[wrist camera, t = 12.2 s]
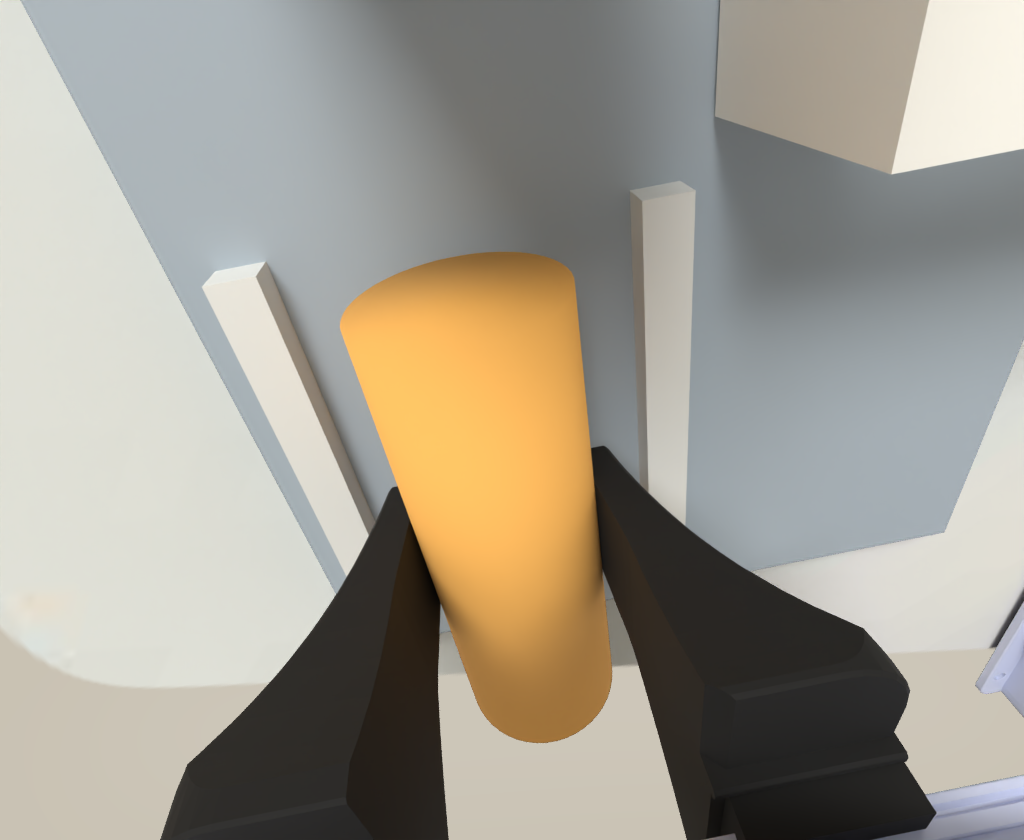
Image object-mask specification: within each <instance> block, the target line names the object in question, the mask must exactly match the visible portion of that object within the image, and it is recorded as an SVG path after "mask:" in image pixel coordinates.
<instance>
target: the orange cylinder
mask: <svg viewBox="0 0 1024 840" xmlns="http://www.w3.org/2000/svg"><path fill="white" fill-rule="evenodd" d="M340 330H341V333H342V336H343V339H344V342H345V344H346V347H347V350H348V353H349V355H350V358H351V361H352V363H353V366H354V369H355V372H356V374H357V377H358V380H359V382H360V385H361V388H362V391H363V393H364V396H365V399H366V401H367V404H368V407H369V410H370V412H371V415H372V418H373V420H374V423H375V426H376V429H377V431H378V434H379V437H380V439H381V442H382V445H383V448H384V450H385V453H386V456H387V459H388V461H389V464H390V467H391V469H392V472H393V475H394V478H395V480H396V483H397V486H398V488H399V491H400V494H401V497H402V499H403V502H404V505H405V507H406V510H407V513H408V516H409V518H410V521H411V524H412V526H413V529H414V532H415V535H416V537H417V540H418V543H419V546H420V548H421V551H422V554H423V556H424V559H425V562H426V565H427V567H428V570H429V573H430V575H431V578H432V581H433V584H434V586H435V589H436V592H437V594H438V597H439V600H440V603H441V605H442V608H443V611H444V613H445V616H446V619H447V622H448V624H449V627H450V630H451V632H452V635H453V638H454V641H455V643H456V646H457V649H458V652H459V654H460V657H461V660H462V662H463V665H464V668H465V671H466V673H467V676H468V679H469V681H470V684H471V687H472V690H473V692H474V695H475V698H476V700H477V703H478V705H479V707H480V709H481V711H482V713H483V714H484V716H485V717H486V718H487V720H489V722H490V723H491V724H492V725H493V726H495V727H496V728H497V729H498V730H499V731H501V732H503V733H504V734H506V735H508V736H510V737H512V738H515V739H517V740H521V741H525V742H532V743H548V742H553V741H558V740H561V739H565V738H567V737H569V736H571V735H574V734H576V733H577V732H579V731H580V730H582V729H583V728H585V727H586V726H587V725H588V724H589V723H591V722H592V721H593V719H594V718H595V717H596V716H597V715H598V714H599V712H600V711H601V709H602V708H603V706H604V704H605V702H606V700H607V698H608V694H609V692H610V688H611V682H612V664H611V654H610V643H609V633H608V622H607V612H606V601H605V591H604V581H603V570H602V560H601V549H600V539H599V529H598V518H597V508H596V497H595V487H594V477H593V466H592V456H591V445H590V435H589V424H588V414H587V404H586V393H585V383H584V372H583V362H582V352H581V341H580V331H579V320H578V310H577V300H576V289H575V280H574V276H573V274H572V272H571V271H570V270H569V269H568V268H567V267H566V266H565V265H563V264H562V263H560V262H558V261H556V260H554V259H551V258H548V257H545V256H541V255H537V254H531V253H523V252H484V253H474V254H467V255H460V256H455V257H449V258H445V259H441V260H436V261H433V262H429V263H426V264H422V265H419V266H416V267H413V268H410V269H408V270H405V271H402V272H400V273H398V274H395V275H393V276H391V277H389V278H387V279H385V280H383V281H381V282H379V283H377V284H375V285H374V286H372V287H370V288H369V289H367V290H366V291H365V292H363V293H362V294H360V295H359V296H358V297H357V298H356V299H355V300H353V301H352V302H351V304H350V305H349V306H348V307H347V308H346V310H345V311H344V313H343V315H342V318H341V320H340Z"/></svg>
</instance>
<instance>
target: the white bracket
mask: <svg viewBox="0 0 1024 840" xmlns="http://www.w3.org/2000/svg"><path fill="white" fill-rule="evenodd" d="M715 117H718V118H721V119H724V120H728V121H731V122H734V123H737V124H740V125H743V126H746V127H749V128H752V129H755V130H758V131H761V132H764V133H767V134H770V135H773V136H776V137H779V138H782V139H785V140H788V141H791V142H794V143H797V144H800V145H803V146H806V147H809V148H812V149H815V150H818V151H821V152H824V153H828V154H831V155H834V156H837V157H840V158H843V159H846V160H849V161H852V162H855V163H858V164H861V165H864V166H867V167H870V168H873V169H876V170H879V171H882V172H885V173H888V174H896V173H901V172H907V171H912V170H917V169H922V168H927V167H932V166H937V165H942V164H948V163H953V162H958V161H963V160H968V159H973V158H978V157H983V156H988V155H994V154H999V153H1004V152H1009V151H1014V150H1019V149H1024V0H720V19H719V40H718V62H717V84H716V106H715Z"/></svg>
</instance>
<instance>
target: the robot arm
mask: <svg viewBox="0 0 1024 840" xmlns="http://www.w3.org/2000/svg"><path fill="white" fill-rule="evenodd" d="M591 456H592V466H593V477H594V487H595V497H596V508H597V518H598V529H599V539H600V549H601V560H602V570H603V572H604V575H605V577H606V580H607V582H608V585H609V587H610V590H611V592H612V595H613V597H614V600H615V602H616V605H617V607H618V610H619V612H620V615H621V617H622V620H623V622H624V625H625V627H626V630H627V632H628V635H629V638H630V640H631V643H632V646H633V649H634V652H635V655H636V659H637V662H638V665H639V668H640V672H641V676H642V679H643V682H644V686H645V689H646V693H647V696H648V700H649V703H650V707H651V710H652V714H653V717H654V721H655V724H656V728H657V731H658V735H659V738H660V742H661V746H662V749H663V753H664V756H665V760H666V764H667V767H668V771H669V774H670V778H671V782H672V785H673V789H674V793H675V797H676V801H677V804H678V808H679V812H680V816H681V819H682V823H683V827H684V830H685V834H686V838H687V840H1024V775H1020V776H1015V777H1010V778H1005V779H1000V780H995V781H990V782H985V783H980V784H975V785H970V786H965V787H960V788H956V789H951V790H946V791H941V792H936V793H932V794H926V795H925V794H924V792H923V791H922V789H921V788H920V786H919V785H918V783H917V781H916V780H915V778H914V777H913V775H912V774H911V772H910V770H909V769H908V767H907V766H906V764H905V763H904V762H905V761H907V759H908V755H907V751H906V750H905V749H904V747H903V745H902V744H901V742H900V741H899V739H898V738H897V736H896V734H895V733H894V731H895V729H896V726H897V725H898V723H899V720H900V718H901V716H902V714H903V712H904V710H905V708H906V705H907V701H908V697H909V693H910V689H909V687H908V683H907V681H906V680H905V678H904V677H903V675H902V674H901V673H900V671H899V670H898V669H897V667H896V666H895V664H894V663H893V662H892V660H891V659H890V658H889V657H888V656H887V654H886V653H885V652H884V651H883V650H882V648H881V647H880V646H879V645H878V644H877V643H876V642H875V641H874V640H873V639H872V637H871V636H870V635H869V634H868V633H867V632H866V631H865V630H864V629H863V628H861V627H859V626H857V625H855V624H852V623H850V622H848V621H846V620H843V619H841V618H839V617H837V616H834V615H832V614H830V613H828V612H825V611H823V610H821V609H819V608H816V607H814V606H812V605H810V604H808V603H806V602H804V601H802V600H800V599H798V598H796V597H794V596H792V595H790V594H788V593H786V592H784V591H782V590H781V589H779V588H777V587H776V586H774V585H772V584H770V583H769V582H767V581H765V580H764V579H762V578H760V577H759V576H757V575H755V574H753V573H752V572H750V571H748V570H747V569H745V568H743V567H742V566H740V565H739V564H737V563H736V562H734V561H733V560H731V559H730V558H728V557H727V556H725V555H724V554H722V553H721V552H719V551H718V550H716V549H715V548H714V547H712V546H711V545H710V544H708V543H707V542H705V541H704V540H703V539H701V538H700V537H699V536H697V535H696V534H695V533H694V532H692V531H691V530H690V529H689V528H687V527H686V526H685V525H684V524H683V523H681V522H680V521H679V520H678V519H677V518H676V517H674V516H673V515H672V514H671V513H670V512H669V511H667V510H666V509H665V508H664V507H663V506H662V505H661V504H660V503H659V502H658V501H657V500H656V499H655V498H654V497H653V496H651V495H650V494H649V493H648V492H647V491H646V490H645V489H644V488H643V487H642V486H641V485H640V484H639V483H638V482H637V481H636V480H635V479H634V477H633V476H632V475H631V474H630V473H629V472H628V471H627V470H626V469H625V468H624V467H623V465H622V464H621V463H620V462H619V461H618V460H617V458H616V457H615V456H614V455H613V454H612V452H611V451H610V450H609V449H608V448H607V447H605V446H604V445H603V446H598V447H593V448H591ZM440 610H441V603H440V600H439V597H438V594H437V592H436V589H435V586H434V584H433V581H432V578H431V575H430V573H429V570H428V567H427V565H426V562H425V559H424V556H423V554H422V551H421V548H420V546H419V543H418V540H417V537H416V535H415V532H414V529H413V526H412V524H411V521H410V518H409V516H408V513H407V510H406V507H405V505H404V502H403V499H402V497H401V494H400V491H399V488H398V486H396V487H392V488H391V489H390V491H389V492H388V495H387V497H386V499H385V502H384V504H383V506H382V509H381V511H380V513H379V515H378V518H377V520H376V522H375V524H374V526H373V528H372V530H371V532H370V534H369V536H368V538H367V540H366V542H365V544H364V546H363V548H362V550H361V552H360V554H359V556H358V558H357V560H356V561H355V563H354V565H353V567H352V569H351V570H350V572H349V574H348V575H347V577H346V579H345V580H344V582H343V584H342V586H341V587H340V589H339V591H338V592H337V594H336V596H335V597H334V599H333V600H332V602H331V603H330V605H329V606H328V608H327V609H326V611H325V612H324V614H323V615H322V617H321V618H320V620H319V621H318V623H317V624H316V625H315V627H314V628H313V630H312V631H311V632H310V634H309V635H308V636H307V638H306V639H305V640H304V642H303V643H302V644H301V645H300V647H299V648H298V649H297V651H296V652H295V653H294V654H293V656H292V657H291V658H290V660H289V661H288V662H287V663H286V664H285V666H284V667H283V668H282V669H281V670H280V672H279V673H278V674H277V675H276V676H275V677H274V678H273V680H272V681H271V682H270V683H269V684H268V685H267V686H266V687H265V688H264V690H263V691H262V692H261V693H260V694H259V695H258V696H257V697H256V698H255V699H254V701H253V702H252V703H251V704H250V705H249V706H248V707H247V708H246V709H245V710H244V711H243V712H242V713H241V714H240V715H239V716H238V717H237V718H236V719H235V720H234V721H233V722H232V723H231V724H230V725H229V726H228V727H227V728H226V729H225V730H224V731H223V732H222V733H221V734H220V735H219V736H217V738H216V739H214V740H213V741H212V742H211V743H210V744H209V745H208V746H207V747H206V748H205V749H204V750H203V751H202V752H201V753H200V754H199V755H197V756H196V757H195V758H194V759H193V760H192V761H191V762H190V763H189V764H187V767H186V770H185V772H184V774H183V777H182V779H181V782H180V784H179V786H178V789H177V791H176V794H175V797H174V800H173V803H172V806H171V809H170V812H169V815H168V818H167V821H166V824H165V827H164V830H163V833H162V836H161V839H160V840H449V838H448V827H447V815H446V803H445V791H444V779H443V765H442V750H441V736H440V718H439V701H438V659H439V635H440ZM975 686H976V687H977V688H978V689H979V690H980V692H981V693H984V694H989V693H994V692H999V691H1001V692H1002V693H1003V694H1004V695H1005V696H1006V697H1007V699H1008V700H1009V701H1010V702H1011V703H1012V704H1013V706H1014V707H1015V708H1016V709H1017V710H1018V711H1019V713H1020V714H1021V715H1022V716H1023V717H1024V602H1023V603H1022V605H1021V607H1020V608H1019V610H1018V612H1017V614H1016V615H1015V617H1014V619H1013V620H1012V622H1011V624H1010V625H1009V627H1008V629H1007V631H1006V632H1005V634H1004V636H1003V637H1002V639H1001V641H1000V642H999V644H998V646H997V648H996V649H995V651H994V653H993V654H992V656H991V658H990V660H989V661H988V663H987V665H986V666H985V668H984V670H983V671H982V673H981V675H980V677H979V678H978V680H977V682H976V685H975Z"/></svg>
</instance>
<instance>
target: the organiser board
mask: <svg viewBox="0 0 1024 840" xmlns="http://www.w3.org/2000/svg"><path fill="white" fill-rule="evenodd" d="M21 2H22V4H23V6H24V8H25V10H26V12H27V13H28V15H29V17H30V19H31V21H32V23H33V25H34V27H35V28H36V30H37V32H38V34H39V36H40V38H41V40H42V42H43V44H44V45H45V47H46V49H47V51H48V53H49V55H50V57H51V59H52V60H53V62H54V64H55V66H56V68H57V70H58V72H59V74H60V76H61V77H62V79H63V81H64V83H65V85H66V87H67V89H68V91H69V92H70V94H71V96H72V98H73V100H74V102H75V104H76V106H77V108H78V109H79V111H80V113H81V115H82V117H83V119H84V121H85V123H86V124H87V126H88V128H89V130H90V132H91V134H92V136H93V138H94V140H95V141H96V143H97V145H98V147H99V149H100V151H101V153H102V155H103V156H104V158H105V160H106V162H107V164H108V166H109V168H110V170H111V172H112V173H113V175H114V177H115V179H116V181H117V183H118V185H119V187H120V188H121V190H122V192H123V194H124V196H125V198H126V200H127V202H128V204H129V205H130V207H131V209H132V211H133V213H134V215H135V217H136V219H137V220H138V222H139V224H140V226H141V228H142V230H143V232H144V234H145V236H146V237H147V239H148V241H149V243H150V245H151V247H152V249H153V251H154V252H155V254H156V256H157V258H158V260H159V262H160V264H161V266H162V268H163V269H164V271H165V273H166V275H167V277H168V279H169V281H170V283H171V284H172V286H173V288H174V290H175V292H176V294H177V296H178V298H179V300H180V301H181V303H182V305H183V307H184V309H185V311H186V313H187V315H188V316H189V318H190V320H191V322H192V324H193V326H194V328H195V330H196V332H197V333H198V335H199V337H200V339H201V341H202V343H203V345H204V347H205V348H206V350H207V352H208V354H209V356H210V358H211V360H212V362H213V364H214V365H215V367H216V369H217V371H218V373H219V375H220V377H221V379H222V380H223V382H224V384H225V386H226V388H227V390H228V392H229V394H230V396H231V397H232V399H233V401H234V403H235V405H236V407H237V409H238V411H239V412H240V414H241V416H242V418H243V420H244V422H245V424H246V426H247V428H248V429H249V431H250V433H251V435H252V437H253V439H254V441H255V443H256V444H257V446H258V448H259V450H260V452H261V454H262V456H263V458H264V460H265V461H266V463H267V465H268V467H269V469H270V471H271V473H272V475H273V476H274V478H275V480H276V482H277V484H278V486H279V488H280V490H281V492H282V493H283V495H284V497H285V499H286V501H287V503H288V505H289V507H290V508H291V510H292V512H293V514H294V516H295V518H296V520H297V522H298V524H299V525H300V527H301V529H302V531H303V533H304V535H305V537H306V539H307V540H308V542H309V544H310V546H311V548H312V550H313V552H314V554H315V556H316V557H317V559H318V561H319V563H320V565H321V567H322V569H323V571H324V572H325V574H326V576H327V578H328V580H329V582H330V584H331V586H332V588H333V589H334V591H335V593H336V594H337V592H338V591H339V589H340V587H341V586H342V584H343V582H344V580H345V579H346V577H347V575H348V574H349V572H350V570H351V569H352V567H353V565H354V563H355V561H356V560H357V558H358V556H359V554H360V552H361V550H362V548H363V546H364V544H365V542H366V540H367V538H368V536H369V534H370V532H371V530H372V528H373V526H374V524H375V522H376V520H377V518H378V515H379V513H380V511H381V509H382V506H383V504H384V502H385V499H386V497H387V495H388V492H389V491H390V489H391V488H392V487H396V486H397V483H396V480H395V478H394V475H393V472H392V469H391V467H390V464H389V461H388V459H387V456H386V453H385V450H384V448H383V445H382V442H381V439H380V437H379V434H378V431H377V429H376V426H375V423H374V420H373V418H372V415H371V412H370V410H369V407H368V404H367V401H366V399H365V396H364V393H363V391H362V388H361V385H360V382H359V380H358V377H357V374H356V372H355V369H354V366H353V363H352V361H351V358H350V355H349V353H348V350H347V347H346V344H345V342H344V339H343V336H342V333H341V330H340V320H341V318H342V315H343V313H344V311H345V310H346V308H347V307H348V306H349V305H350V304H351V302H352V301H353V300H355V299H356V298H357V297H358V296H359V295H360V294H362V293H363V292H365V291H366V290H367V289H369V288H370V287H372V286H374V285H375V284H377V283H379V282H381V281H383V280H385V279H387V278H389V277H391V276H393V275H395V274H398V273H400V272H402V271H405V270H408V269H410V268H413V267H416V266H419V265H422V264H426V263H429V262H433V261H436V260H441V259H445V258H449V257H455V256H460V255H467V254H474V253H484V252H523V253H531V254H537V255H541V256H545V257H548V258H551V259H554V260H556V261H558V262H560V263H562V264H563V265H565V266H566V267H567V268H568V269H569V270H570V271H571V272H572V274H573V276H574V280H575V289H576V300H577V310H578V320H579V331H580V341H581V352H582V362H583V372H584V383H585V393H586V404H587V414H588V424H589V435H590V445H591V448H593V447H598V446H603V445H604V446H605V447H607V448H608V449H609V450H610V451H611V452H612V454H613V455H614V456H615V457H616V458H617V460H618V461H619V462H620V463H621V464H622V465H623V467H624V468H625V469H626V470H627V471H628V472H629V473H630V474H631V475H632V476H633V477H634V479H635V480H636V481H637V482H638V483H639V484H640V485H641V486H642V487H643V488H644V489H645V490H646V491H647V492H648V493H649V494H650V495H651V496H653V497H654V498H655V499H656V500H657V501H658V502H659V503H660V504H661V505H662V506H663V507H664V508H665V509H666V510H667V511H669V512H670V513H671V514H672V515H673V516H674V517H676V518H677V519H678V520H679V521H680V522H681V523H683V524H684V525H685V526H686V527H687V528H689V529H690V530H691V531H692V532H694V533H695V534H696V535H697V536H699V537H700V538H701V539H703V540H704V541H705V542H707V543H708V544H710V545H711V546H712V547H714V548H715V549H716V550H718V551H719V552H721V553H722V554H724V555H725V556H727V557H728V558H730V559H731V560H733V561H734V562H736V563H737V564H739V565H740V566H742V567H743V568H745V569H747V570H748V571H754V570H759V569H764V568H769V567H774V566H779V565H784V564H789V563H794V562H799V561H804V560H809V559H814V558H819V557H824V556H829V555H834V554H839V553H844V552H849V551H854V550H859V549H864V548H869V547H874V546H879V545H884V544H889V543H894V542H899V541H904V540H909V539H914V538H919V537H924V536H929V535H934V534H939V533H944V532H945V529H946V527H947V524H948V522H949V520H950V517H951V515H952V512H953V510H954V507H955V505H956V503H957V500H958V498H959V495H960V493H961V490H962V488H963V486H964V483H965V481H966V478H967V476H968V473H969V471H970V469H971V466H972V464H973V461H974V459H975V456H976V454H977V452H978V449H979V447H980V444H981V442H982V439H983V437H984V435H985V432H986V430H987V427H988V425H989V422H990V420H991V418H992V415H993V413H994V410H995V408H996V405H997V403H998V401H999V398H1000V396H1001V393H1002V391H1003V388H1004V386H1005V384H1006V381H1007V379H1008V376H1009V374H1010V371H1011V369H1012V366H1013V364H1014V362H1015V359H1016V357H1017V354H1018V352H1019V349H1020V347H1021V345H1022V342H1023V340H1024V149H1019V150H1014V151H1009V152H1004V153H999V154H994V155H988V156H983V157H978V158H973V159H968V160H963V161H958V162H953V163H948V164H942V165H937V166H932V167H927V168H922V169H917V170H912V171H907V172H901V173H896V174H888V173H885V172H882V171H879V170H876V169H873V168H870V167H867V166H864V165H861V164H858V163H855V162H852V161H849V160H846V159H843V158H840V157H837V156H834V155H831V154H828V153H824V152H821V151H818V150H815V149H812V148H809V147H806V146H803V145H800V144H797V143H794V142H791V141H788V140H785V139H782V138H779V137H776V136H773V135H770V134H767V133H764V132H761V131H758V130H755V129H752V128H749V127H746V126H743V125H740V124H737V123H734V122H731V121H728V120H724V119H721V118H718V117H715V106H716V84H717V62H718V40H719V19H720V0H21ZM603 581H604V591H605V600H609V599H614V597H613V595H612V592H611V590H610V587H609V585H608V582H607V580H606V577H605V575H604V572H603ZM449 631H451V630H450V627H449V624H448V622H447V619H446V616H445V613H444V611H443V608H442V605H441V610H440V633H444V632H449Z"/></svg>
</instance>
